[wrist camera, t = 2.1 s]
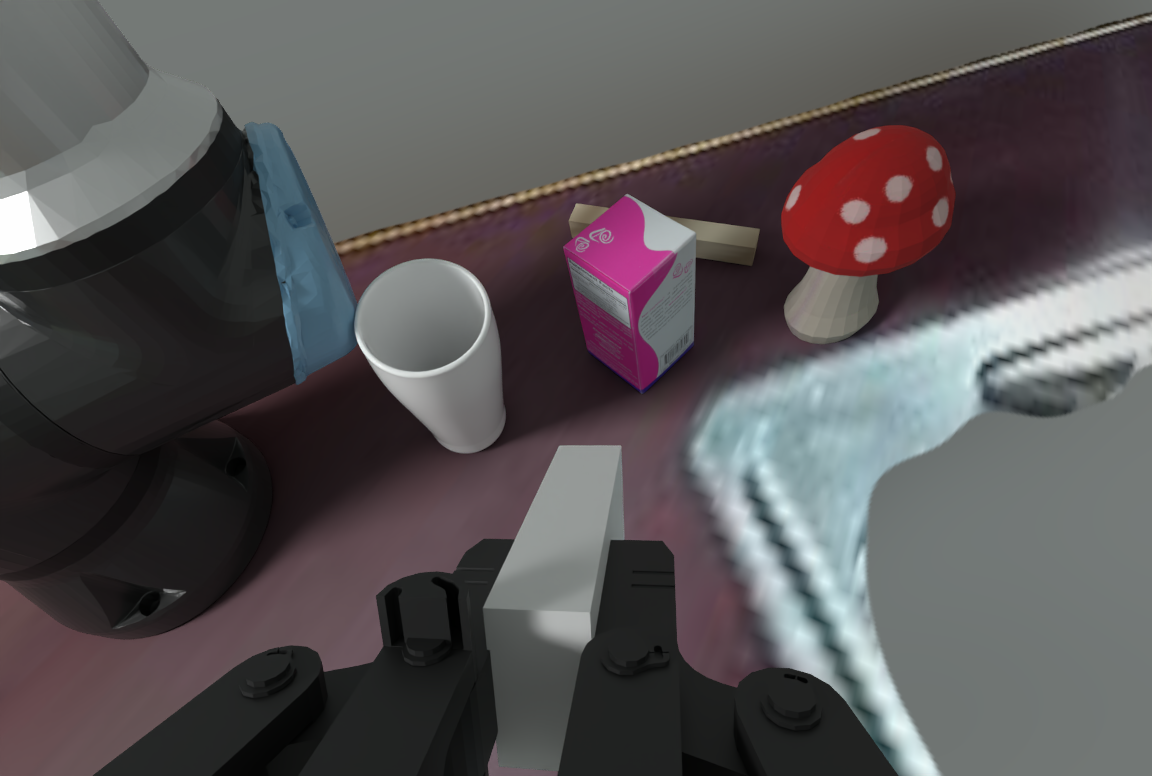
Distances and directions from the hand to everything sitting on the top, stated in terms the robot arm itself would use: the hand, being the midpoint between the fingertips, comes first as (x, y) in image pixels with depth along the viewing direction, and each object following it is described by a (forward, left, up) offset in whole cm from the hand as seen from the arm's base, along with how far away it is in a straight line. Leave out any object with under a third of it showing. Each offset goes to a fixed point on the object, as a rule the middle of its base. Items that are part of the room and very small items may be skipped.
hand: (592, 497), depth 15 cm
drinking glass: (-15, +10, -23) cm, 30 cm away
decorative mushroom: (+7, +25, -24) cm, 35 cm away
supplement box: (-5, +19, -24) cm, 31 cm away
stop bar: (-6, +30, -23) cm, 38 cm away
